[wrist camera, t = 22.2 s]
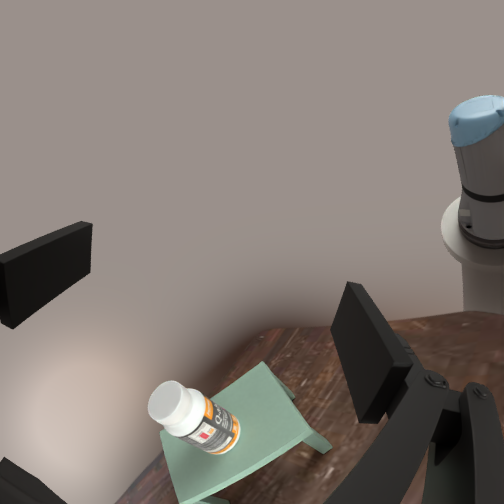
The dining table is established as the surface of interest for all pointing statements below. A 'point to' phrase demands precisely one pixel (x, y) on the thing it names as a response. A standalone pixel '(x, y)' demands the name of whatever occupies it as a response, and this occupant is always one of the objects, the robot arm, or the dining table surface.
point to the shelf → (241, 438)
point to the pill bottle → (194, 418)
